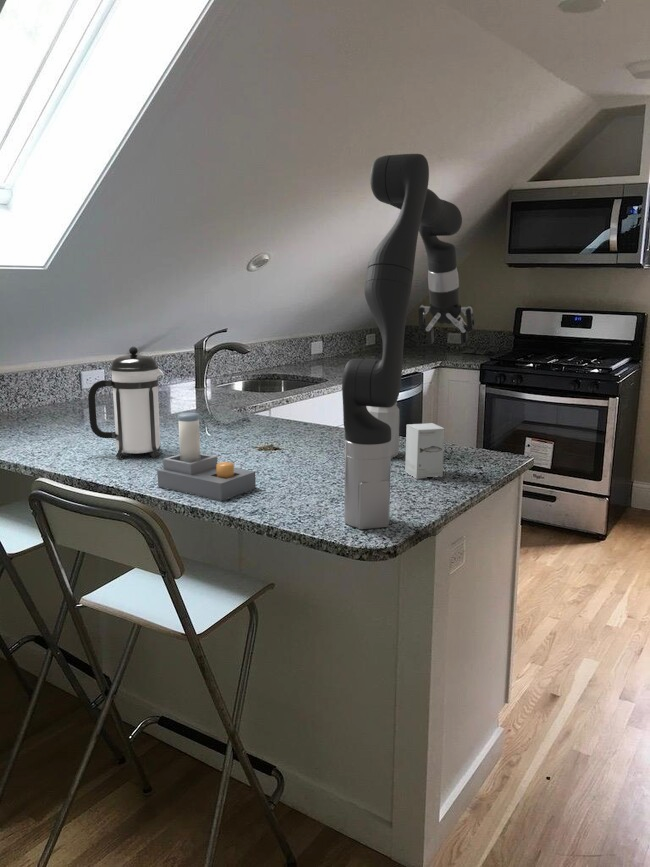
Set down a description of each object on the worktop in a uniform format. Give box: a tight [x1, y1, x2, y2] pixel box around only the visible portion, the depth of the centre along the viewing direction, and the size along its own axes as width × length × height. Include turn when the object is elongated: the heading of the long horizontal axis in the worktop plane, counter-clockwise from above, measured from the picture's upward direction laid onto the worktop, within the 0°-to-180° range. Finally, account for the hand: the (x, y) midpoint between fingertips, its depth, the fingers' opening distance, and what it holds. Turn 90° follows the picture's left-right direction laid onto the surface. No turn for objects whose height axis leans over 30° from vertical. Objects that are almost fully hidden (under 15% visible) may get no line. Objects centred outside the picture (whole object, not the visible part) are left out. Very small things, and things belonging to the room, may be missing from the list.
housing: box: [156, 452, 257, 502], centre depth 174 cm, size 20×12×6 cm, turn 56°
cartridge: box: [177, 412, 201, 463], centre depth 175 cm, size 5×5×13 cm
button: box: [216, 461, 235, 479], centre depth 171 cm, size 4×4×4 cm
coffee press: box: [87, 346, 165, 460], centre depth 202 cm, size 17×16×30 cm
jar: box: [366, 401, 400, 459], centre depth 203 cm, size 10×10×18 cm
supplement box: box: [404, 422, 445, 480], centre depth 184 cm, size 7×7×13 cm
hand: (447, 343), depth 195 cm, fingers open, 8 cm apart
